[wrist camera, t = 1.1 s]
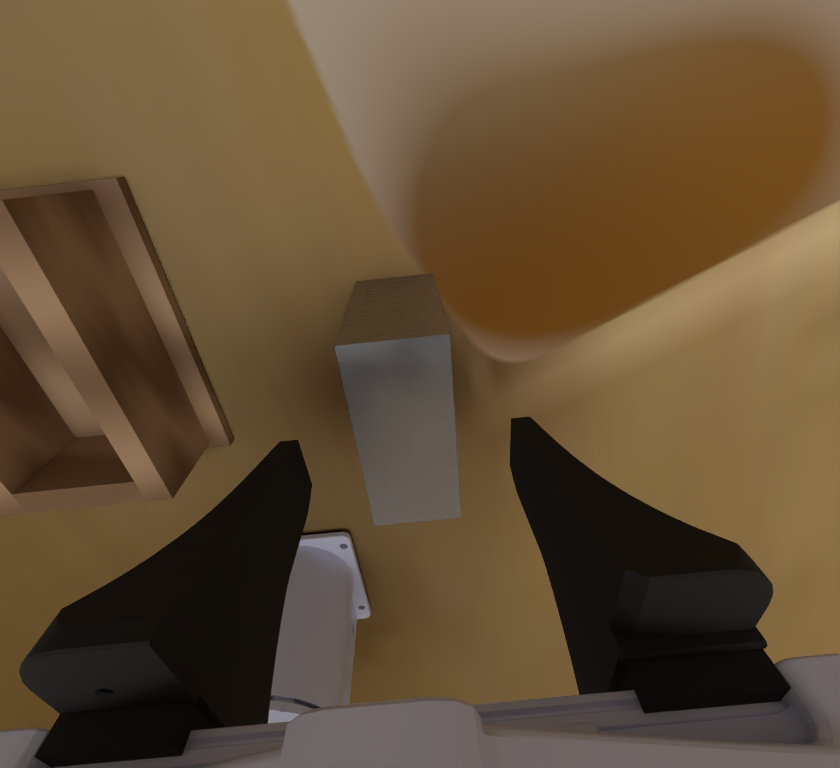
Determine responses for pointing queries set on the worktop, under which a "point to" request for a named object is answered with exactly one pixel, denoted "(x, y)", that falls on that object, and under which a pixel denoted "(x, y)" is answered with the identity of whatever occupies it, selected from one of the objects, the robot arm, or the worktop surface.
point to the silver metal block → (401, 398)
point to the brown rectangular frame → (93, 356)
